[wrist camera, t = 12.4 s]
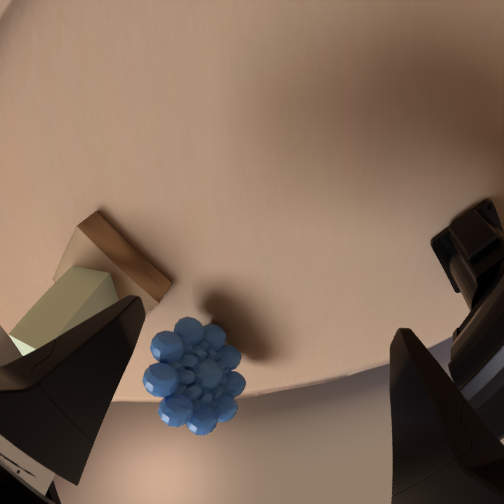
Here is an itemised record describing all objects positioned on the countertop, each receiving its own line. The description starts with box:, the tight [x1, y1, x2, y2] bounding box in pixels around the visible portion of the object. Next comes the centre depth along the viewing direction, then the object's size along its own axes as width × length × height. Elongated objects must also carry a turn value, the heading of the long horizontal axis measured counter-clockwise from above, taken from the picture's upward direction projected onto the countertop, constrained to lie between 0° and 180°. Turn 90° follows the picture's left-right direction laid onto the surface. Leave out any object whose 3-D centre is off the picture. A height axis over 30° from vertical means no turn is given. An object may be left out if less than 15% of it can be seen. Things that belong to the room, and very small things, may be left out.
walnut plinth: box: [52, 211, 172, 314], centre depth 27 cm, size 10×10×3 cm
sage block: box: [9, 266, 119, 356], centre depth 22 cm, size 5×5×10 cm
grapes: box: [143, 317, 246, 435], centre depth 25 cm, size 12×7×12 cm, turn 31°
